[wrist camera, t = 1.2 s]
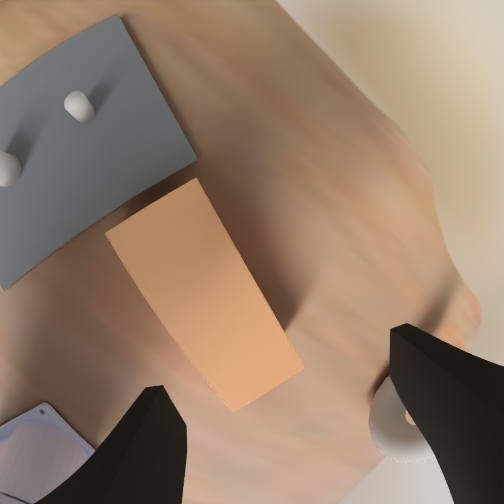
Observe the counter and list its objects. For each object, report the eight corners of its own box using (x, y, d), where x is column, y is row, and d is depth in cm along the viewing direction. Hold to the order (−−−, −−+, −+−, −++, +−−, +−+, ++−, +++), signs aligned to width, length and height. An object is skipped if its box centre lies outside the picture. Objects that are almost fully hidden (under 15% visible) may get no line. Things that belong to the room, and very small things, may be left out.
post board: (10, 287, 16) (-14, 301, 12) (-49, 143, 13) (-75, 136, 9) (196, 161, 18) (203, 151, 15) (119, 21, 15) (113, -7, 12)
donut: (361, 426, 25) (421, 488, 16) (342, 416, 24) (406, 484, 15) (426, 347, 26) (502, 389, 16) (413, 330, 25) (496, 373, 15)
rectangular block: (279, 338, 21) (305, 367, 17) (218, 375, 21) (232, 412, 16) (189, 184, 18) (196, 177, 14) (119, 227, 18) (104, 233, 13)
